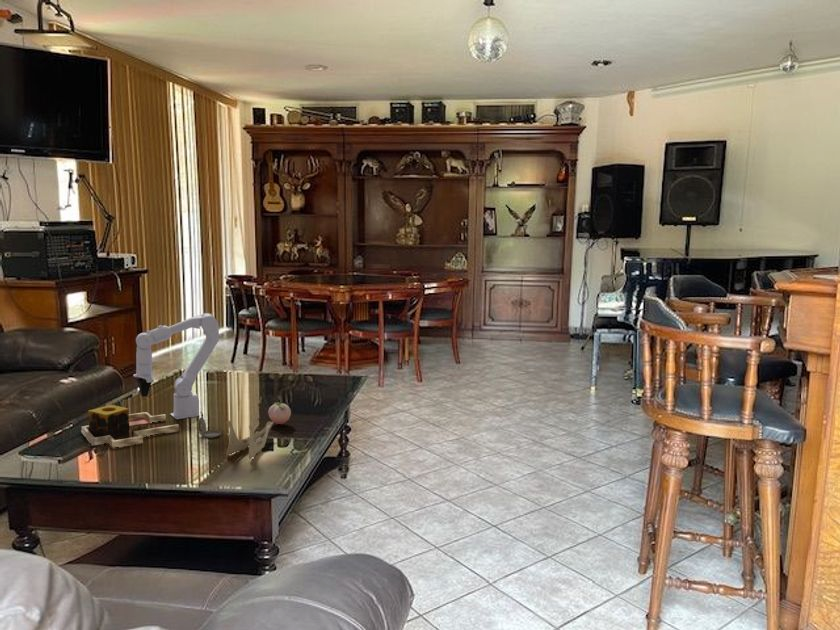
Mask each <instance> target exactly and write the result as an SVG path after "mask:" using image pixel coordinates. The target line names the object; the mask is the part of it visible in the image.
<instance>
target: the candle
mask: <svg viewBox="0 0 840 630" xmlns="http://www.w3.org/2000/svg"><path fill="white" fill-rule="evenodd" d="M87 412H88V425H89V427H88V431H89V432H90V433H91V434H92V435H93V436H94V438H95V437H102V436H108V435H110V436H111V437H112V438H113V439H114V438H115V439H118V438H121V437H124V436H126V435H129V434H130V430H131V429H130V427H131V426H129V414H130V408H128V407H125V406H118V405H115V404H114V405H113V404H109V405H105V406H101V407H97V408H94V409H88V411H87ZM115 439H114V440H115Z"/></svg>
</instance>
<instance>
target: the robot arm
mask: <svg viewBox="0 0 840 630" xmlns="http://www.w3.org/2000/svg"><path fill="white" fill-rule="evenodd" d="M219 327H220V326H219V323H218V321H217V318H216V317H215V316H214V315H213V314H212V313H209V312H204V313H202V314H198V315H194V316H191V317H190V318H187V319H184V320H182V321H180V322H177V323H175V324H173V325H170V326H167V325H166V324H165V325H161V324H160V325H158V326H157V327H156V328H154V329H151V330H149V329H148V330H146V332H141V333H139V334H137V336H136V337H135V344H136V348H135V349H136V352H135V354H136V357H135V359H136V360H135V361H136V362H135V365H136V366H135V367H136V368H135V369H136V370H135V373H134V374H133V376H132V377H134V378H135V381H136V383H137V385H138V388H139V393H140V396H141V397H143V398H144V397H148V395H149V392H150V387H151V386H152V383H153V382H154V379H153V352H152V345H156V344H159V343H162V342H164V341H167V340H169V339H171V338H172V336H173V334H174V335H175V334H176V333H180V332H182V331H186V330H188V329H192V328H193V329H198V330H200V329H201V328H202V330H203V333H204V336H205V339H204V340H203V342H202V344H201V345H200V347H199V348H198V350H197V351H196V353H195V355H194V357H193V358H192V360H191V362H190V363H189V364H188V366H187V368H186V370H185V371H183V372H182V373H181V375H180V376H179V377H178V378H176V379H175V380H174V383H173V385H174V389H175V392H174V393H173V412H171V413H170V416H172V417H173V418H174V419H175V420H179V419H180V420H181V419H188V417H189V418H195V417H199V416H200V400H199V395H198V394H197V393H193V392H192V391H193V386H194V384H195V382H196V378H197V377H198V375H199V373H200V371H201V370H202V368H203V367H204V365H205V363H207V361H208V359H209V357H210V356H211V354H212V353H213V351H214V349H215V347H216V346H217V344H218V343H219V340H220V330H219Z"/></svg>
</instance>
